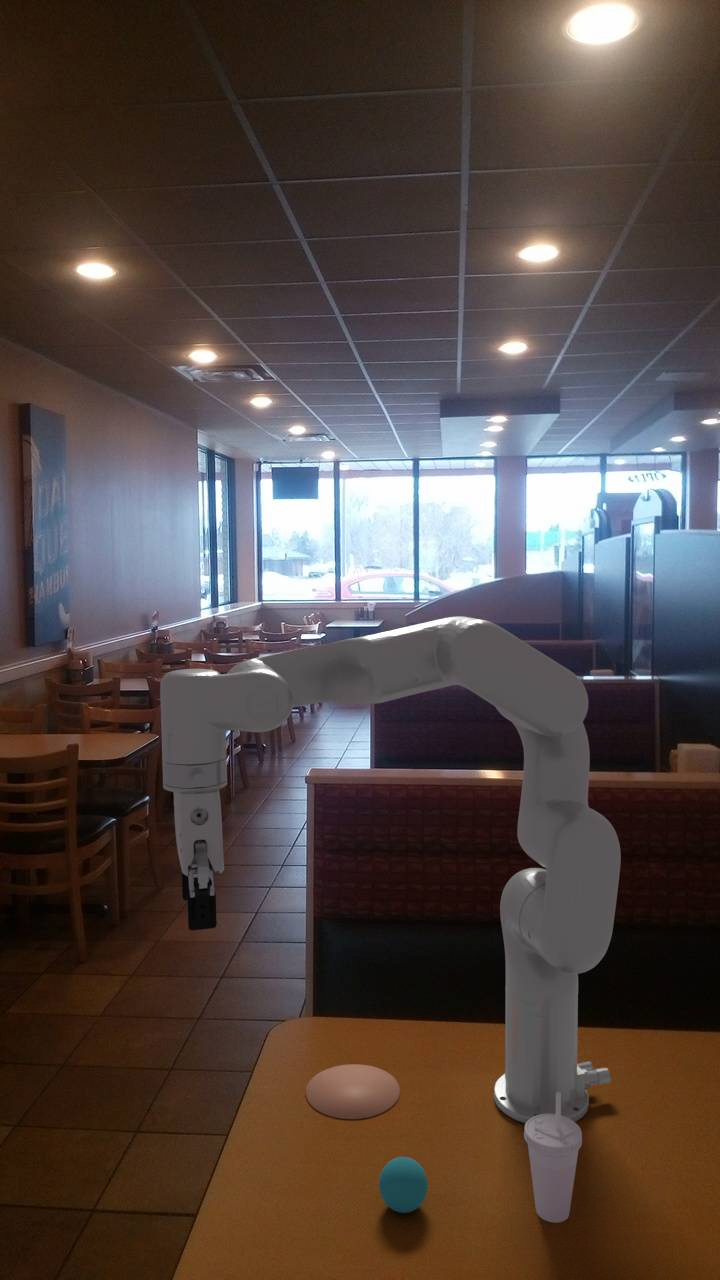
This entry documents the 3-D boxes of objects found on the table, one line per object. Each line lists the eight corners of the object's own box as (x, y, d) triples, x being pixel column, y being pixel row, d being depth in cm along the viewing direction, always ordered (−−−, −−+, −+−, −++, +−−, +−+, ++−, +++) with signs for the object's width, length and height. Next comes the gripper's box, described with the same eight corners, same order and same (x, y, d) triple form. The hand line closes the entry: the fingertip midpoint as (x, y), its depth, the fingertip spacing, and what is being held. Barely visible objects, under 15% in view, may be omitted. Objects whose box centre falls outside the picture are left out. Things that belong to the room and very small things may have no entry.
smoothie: (582, 1235, 102) (583, 1112, 100) (522, 1227, 103) (523, 1106, 102) (580, 1195, 108) (581, 1079, 107) (524, 1188, 109) (524, 1074, 108)
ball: (419, 1187, 110) (418, 1142, 109) (434, 1219, 104) (434, 1172, 104) (373, 1195, 108) (373, 1150, 108) (386, 1228, 103) (386, 1181, 103)
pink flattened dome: (385, 1060, 137) (385, 1058, 137) (411, 1110, 125) (411, 1109, 125) (298, 1073, 134) (298, 1071, 134) (316, 1126, 122) (316, 1124, 122)
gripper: (235, 788, 104) (239, 937, 105) (219, 756, 121) (222, 885, 122) (166, 793, 102) (171, 945, 104) (159, 760, 119) (163, 891, 120)
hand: (198, 912), depth 113 cm, fingers open, 9 cm apart
